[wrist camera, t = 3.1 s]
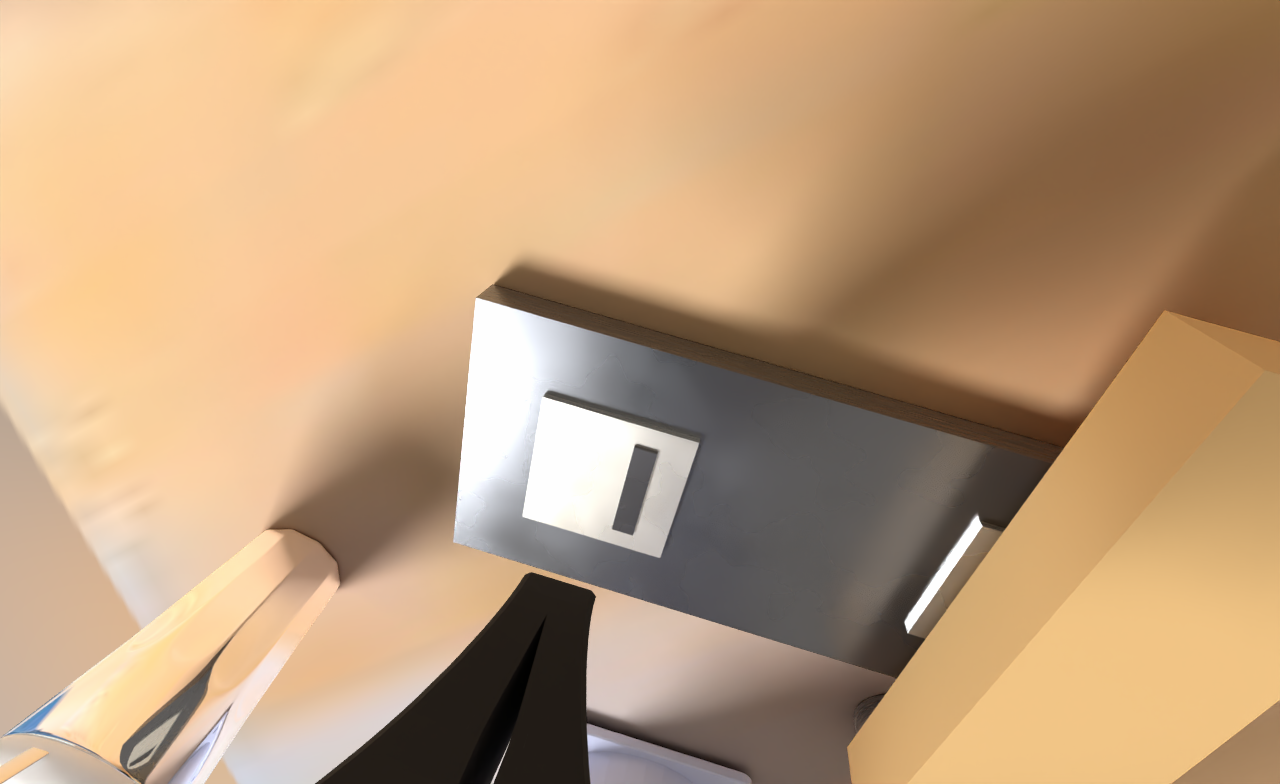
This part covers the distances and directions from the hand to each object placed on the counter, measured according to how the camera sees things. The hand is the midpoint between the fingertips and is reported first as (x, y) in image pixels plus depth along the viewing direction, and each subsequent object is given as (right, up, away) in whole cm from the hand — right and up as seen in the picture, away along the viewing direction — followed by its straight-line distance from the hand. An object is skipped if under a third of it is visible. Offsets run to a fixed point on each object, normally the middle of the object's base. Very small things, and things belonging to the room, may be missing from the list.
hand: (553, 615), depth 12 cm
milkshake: (-10, -1, +10) cm, 14 cm away
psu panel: (+7, +1, +5) cm, 8 cm away
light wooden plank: (+11, -2, +3) cm, 12 cm away
